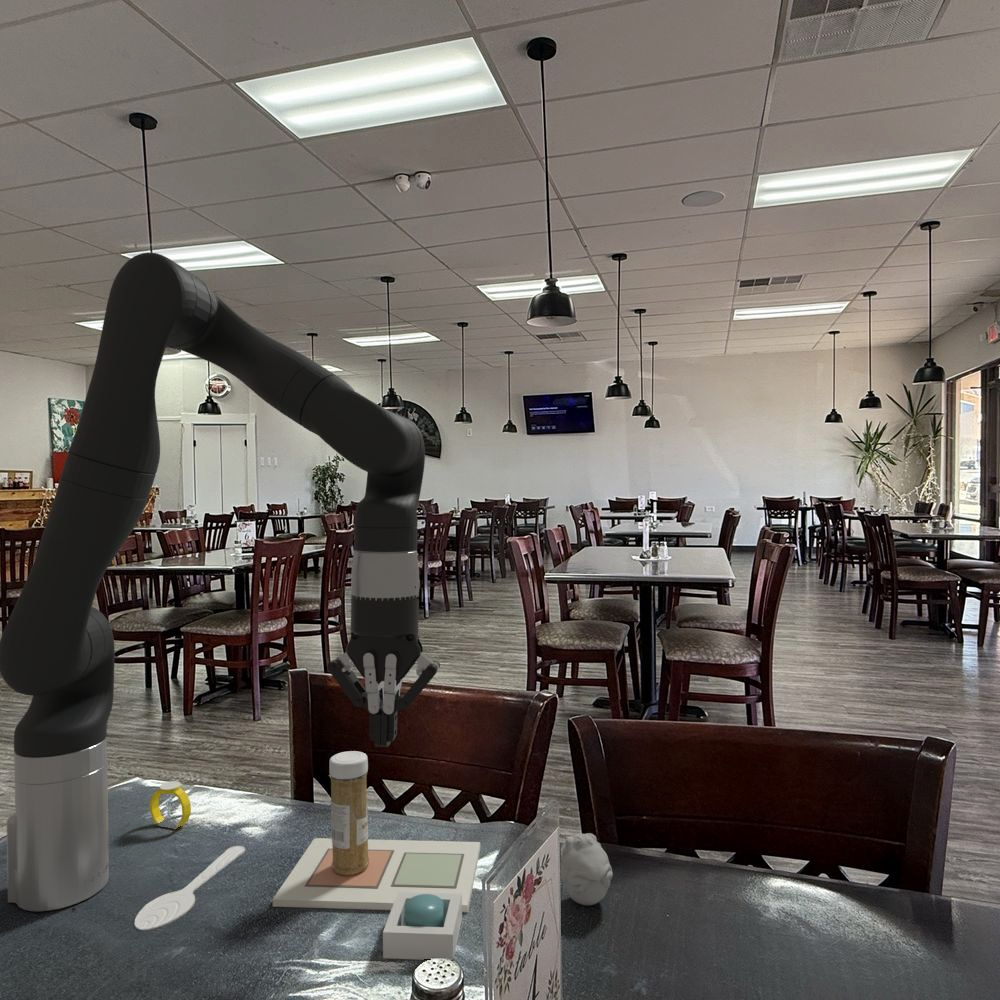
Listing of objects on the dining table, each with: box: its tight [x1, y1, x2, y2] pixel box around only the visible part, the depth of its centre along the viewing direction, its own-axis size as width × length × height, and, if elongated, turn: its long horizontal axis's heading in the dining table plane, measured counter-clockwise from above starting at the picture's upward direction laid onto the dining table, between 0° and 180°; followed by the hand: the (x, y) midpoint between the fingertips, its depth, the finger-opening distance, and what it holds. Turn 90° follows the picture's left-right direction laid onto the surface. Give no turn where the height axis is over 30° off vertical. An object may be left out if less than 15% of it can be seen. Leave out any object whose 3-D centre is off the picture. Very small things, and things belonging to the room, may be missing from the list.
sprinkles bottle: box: [328, 750, 369, 875], centre depth 85 cm, size 5×5×14 cm
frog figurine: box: [560, 832, 614, 906], centre depth 79 cm, size 6×7×7 cm
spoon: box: [133, 845, 246, 931], centre depth 83 cm, size 5×18×1 cm, turn 167°
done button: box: [405, 894, 444, 927], centre depth 72 cm, size 4×4×2 cm
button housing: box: [382, 892, 463, 961], centre depth 72 cm, size 7×7×3 cm
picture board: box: [272, 837, 481, 913], centre depth 84 cm, size 22×14×1 cm, turn 86°
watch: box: [149, 780, 192, 829], centre depth 98 cm, size 6×3×6 cm, turn 72°
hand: (383, 744), depth 78 cm, fingers closed
